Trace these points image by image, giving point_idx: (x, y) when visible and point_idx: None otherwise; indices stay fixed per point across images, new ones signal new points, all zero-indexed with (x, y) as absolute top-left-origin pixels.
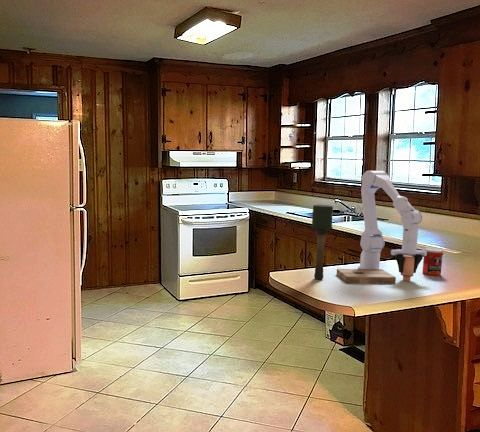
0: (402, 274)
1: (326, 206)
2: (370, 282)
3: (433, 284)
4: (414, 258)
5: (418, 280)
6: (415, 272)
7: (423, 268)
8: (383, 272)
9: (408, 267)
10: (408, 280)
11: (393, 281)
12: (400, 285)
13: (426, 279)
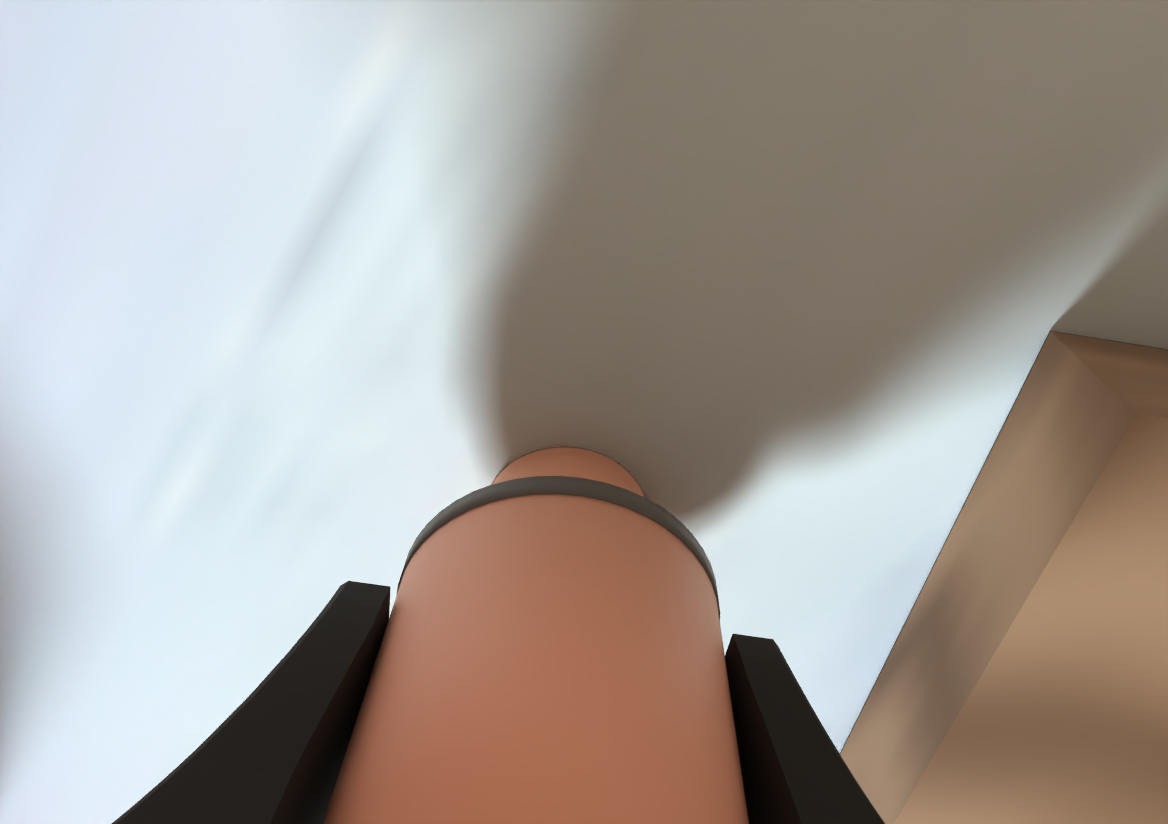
0: (715, 607)
1: None
2: None
3: (18, 105)
4: None
5: (272, 490)
6: (342, 590)
7: None
8: (1006, 805)
9: (639, 702)
10: (570, 460)
11: (1130, 362)
12: (1078, 135)
13: (46, 533)
